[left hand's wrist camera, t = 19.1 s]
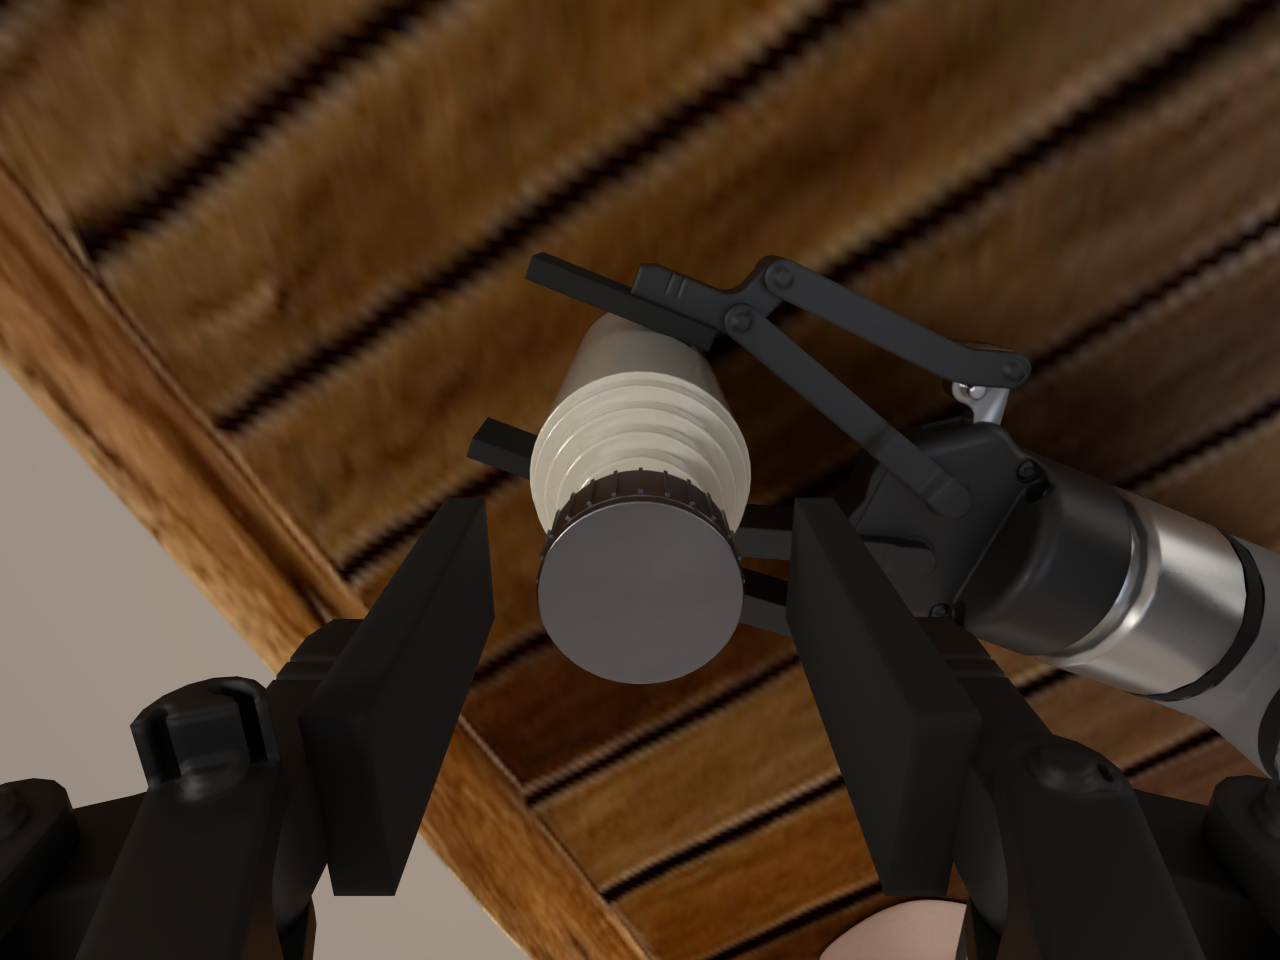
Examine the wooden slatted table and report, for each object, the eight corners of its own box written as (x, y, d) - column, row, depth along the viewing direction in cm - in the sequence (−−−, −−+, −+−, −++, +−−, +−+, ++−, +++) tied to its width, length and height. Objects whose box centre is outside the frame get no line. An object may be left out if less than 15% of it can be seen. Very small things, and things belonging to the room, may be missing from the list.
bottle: (720, 321, 31) (834, 474, 13) (686, 444, 33) (745, 730, 15) (589, 290, 31) (515, 402, 12) (564, 417, 33) (467, 676, 14)
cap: (597, 663, 16) (592, 715, 14) (510, 513, 14) (494, 551, 13) (764, 596, 15) (779, 641, 13) (688, 433, 14) (695, 463, 12)
